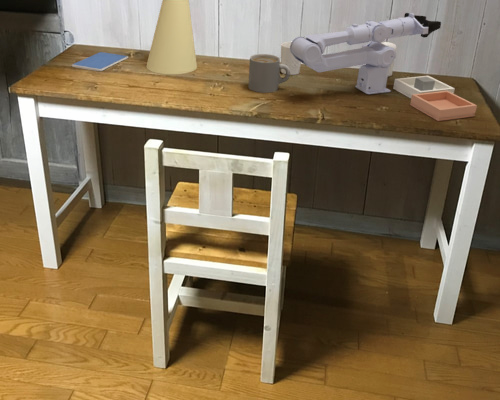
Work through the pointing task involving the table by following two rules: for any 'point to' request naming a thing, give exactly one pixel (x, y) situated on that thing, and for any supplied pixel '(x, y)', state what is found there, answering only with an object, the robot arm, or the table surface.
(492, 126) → the table surface
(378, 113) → the table surface
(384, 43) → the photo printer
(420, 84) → the gray cube
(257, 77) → the coffee mug
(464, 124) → the table surface
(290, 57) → the white cup
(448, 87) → the tub
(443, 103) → the bin
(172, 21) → the cone light
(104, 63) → the blue notebook
